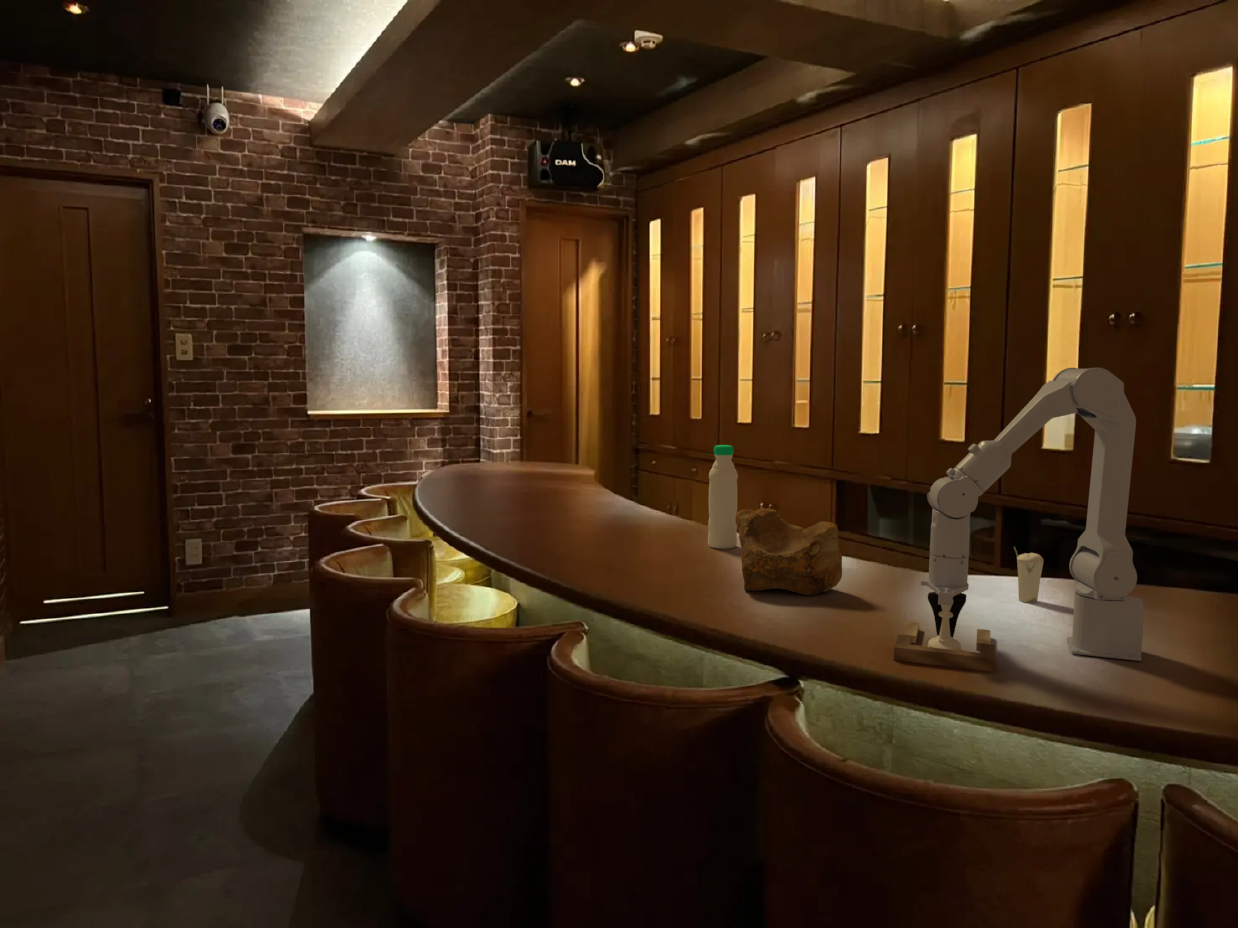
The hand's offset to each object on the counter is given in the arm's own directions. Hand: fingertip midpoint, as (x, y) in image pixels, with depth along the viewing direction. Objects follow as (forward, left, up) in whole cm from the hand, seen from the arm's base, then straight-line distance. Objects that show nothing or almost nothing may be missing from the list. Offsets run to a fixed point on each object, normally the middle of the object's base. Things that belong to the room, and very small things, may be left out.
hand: (944, 639), depth 141 cm
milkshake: (-13, -36, -1) cm, 38 cm away
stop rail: (0, +7, -1) cm, 7 cm away
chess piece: (0, +2, -1) cm, 2 cm away
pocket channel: (0, -4, -1) cm, 4 cm away
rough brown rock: (+33, -27, -2) cm, 42 cm away
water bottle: (+54, -64, -1) cm, 84 cm away
